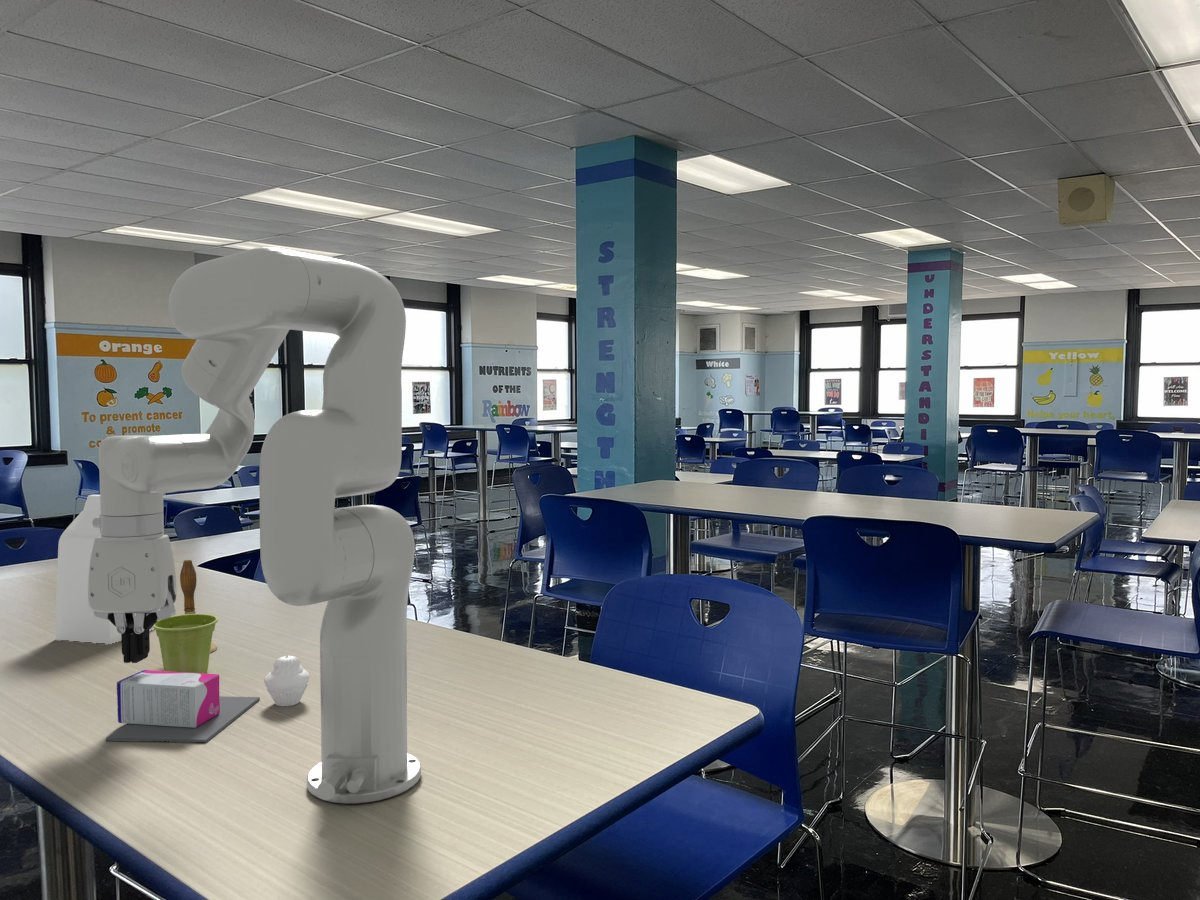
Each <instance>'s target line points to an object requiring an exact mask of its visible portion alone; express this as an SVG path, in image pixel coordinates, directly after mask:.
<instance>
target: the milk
mask: <svg viewBox="0 0 1200 900" xmlns="http://www.w3.org/2000/svg"><path fill="white" fill-rule="evenodd" d="M100 514H101V510H100V494H88V495H87V497H86V501H85V503H84V507H83V510H82V511H81V512H79V514H78V515H77V516H76V517H75V518H74V520H72V522H70V524H69V525H68V526H67V527H66V529H65V530H64V531H63V532H62V534H61V535H60V537H59V539H58V544H57V545H58V549H57V573H56V599H55V600H56V601H55V602H56V603H55V632H54V636H55V637H54V640H55V641H61V640H69V641H68V642H73V641H81V642H80V643H84V642H92V643H91V644H96V643H105V644H104V645H108V644H111V645H113V644H112V643H114V644H116V643H115V642H117V643H119V642H118V641H120V642H122V641H121V634H120V633H118V632H117V629H116V627H115V626H114V625H113V624H112V623H111V622H110V621H109V620H108V619H107V620H106V619H102V618H98V617H96V616H95V615H94V610H92V609H91V608H90V607H89V603H88V580H89V567H90V559H91V553H92V549H93V544H94V540H95V538H97V537H101V533H100V528H95V527H93V524H92V522H93V519H94V518H99V517H100ZM135 616H136V613H135ZM151 630H152V631H154V628H153V627H152V628H151V629H149V632H151Z"/></svg>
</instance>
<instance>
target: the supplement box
mask: <svg viewBox="0 0 1200 900" xmlns="http://www.w3.org/2000/svg"><path fill="white" fill-rule="evenodd" d="M219 696H220V674H217V673H206V674H204V673H186V672H169V671H164V670H152V669H151V670H150V669H144V670H141V671H139V672H136V673H134V674H132V675H130V676H127V677H125V678H122V679H120V680H117V681H116V697H117V698H116V700H117V702H116V703H117V704H116V705H117V722H118V723H119V724H125V725H127V724H141V725H157V726H173V727H188V728H196V727H198V726H199V725H201V724H203V723H204V722H206V721H208V720H209V719H211V718H213V717H215V716H216V715H218V714H220V700H219Z"/></svg>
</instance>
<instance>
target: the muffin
mask: <svg viewBox="0 0 1200 900" xmlns="http://www.w3.org/2000/svg"><path fill="white" fill-rule="evenodd" d="M309 681H310V674H309V672H308V671H307V670H306V669H305V668H304V667H303V666H302V665H301V661H300V659H299V658H298V657H297V656H295V655H288V654H287V655H283V656H281V657H278V658H277V659H276V660H274V663H273V667H272V668H271V670H270V672H269V673H267V675H266V676H265V678H264V685H265V687H266V688H267V689H266V691H267V693H268V694H269V695H270V697H271V698H272V700H273V702H274V704H275V705H276V706H278V707H283V708H284V707H285V706H286V707H292V706H295V705H297V704H299V703H300V702H301V700H302V697H303V695H304V694H305V691H306V690H307V687H308V685H309V684H308V683H309Z"/></svg>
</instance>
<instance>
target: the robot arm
mask: <svg viewBox="0 0 1200 900" xmlns="http://www.w3.org/2000/svg"><path fill="white" fill-rule="evenodd" d="M402 299H403V298H402V297H401V295H400V293H399V291H398V289H397V287H396V286H395V285H394V284H393V283H392V282H391V281H390V280H389V279H388V278H387V276H384V275H383V274H381V273H380V272H379V271H376V270H374V269H372V268H370V267H367V266H364V265H361V264H359V263H355V262H351V261H347V260H344V259H338V258H334V257H330V256H323V255H319V254H318V255H317V254H312V253H306V252H300V251H296V250H291V249H285V248H280V247H274V246H273V247H270V246H262V247H261V246H260V247H256V248H251V249H250V248H249V249H247V250H242V251H239V252H236V253H231V254H228V255H225V256H221V257H220V256H219V257H217V258H212V259H210V260H206V261H202V262H200V263H196V264H195V265H193V266H191V267H189V268H188V269H186V270H185V271H184V272H182V273H181V274H180V275H179V277H177V279H176V281H175V283H174V284H173V286H172V288H171V290H170V294H169V297H168V303H167V305H168V307H167V308H168V309H167V310H168V311H167V312H168V316H169V318H170V321H171V323H172V325H173V327H174V328H175V330H177V332H179V333H180V334H181V335H183V336H185V337H187V338H189V339H193V340H195V342H194V344H193V346H192V347H191V349H190V350H189V352H188V353H187V356H186V358H185V359H184V361H183V362H182V366H181V377H182V380H183V382H184V383H185V385H186V387H187V388H188V389H189V390H190V391H192V393H194V394H195V395H196V396H197V397H199V399H201V400H202V401H204V402H206V403H208V404H210V405H212V406H213V407H215V408H217V409H218V410H217V413H216V416H215V417H214V419H213V420H212V422H211V424H210V426H209V427H208V429H206V431H205V432H204V433H182V434H181V433H179V434H164V435H162V434H161V435H160V434H159V435H145V434H144V435H142V434H141V435H139V434H138V435H136V434H135V435H111V436H108V437H105V438H104V439H102V440H101V442H100V443H99V446H98V466H99V467H98V468H99V469H98V470H99V495H100V510H101V514H100V517H99V518H94V519H93V522H92V524H93V527H95V528H100V533H101V537H97V538H95V540H94V544H93V549H92V553H91V559H90V567H89V580H88V603H89V607H90V608H91V609H92V610H94V615H95V616H96V617H98V618H102V619H106V620H107V619H108V620H109V621H110V622H111V623H112V624H113V625H114V626H115V627H116V629H117V632H118V633H120V634H121V641H120V642H121V653H122V656H123V657H122V658H123V663H124V664H129V663H132V664H138V663H139V662H141V661H143V660H145V659H147V658H148V656H149V653H150V650H151V647H150V645H151V644H150V643H151V642H150V639H151V638H150V631H149V629H151V628H152V627H153V625H154V624H155V623H156V622H157V621H158V620H162V619H166V618H170V617H172V616H176V613H177V611H176V608H175V602H176V601H177V573H176V567H175V566H176V565H175V558H174V557H175V556H174V553H173V549H172V544H171V541H170V540H171V539H170V538H169V537H170V536H169V534H165V527H164V526H165V525H164V524H165V523H164V521H165V520H164V519H165V518H164V517H165V515H164V494H168V493H175V492H176V493H177V492H184V491H194V490H205V489H212V488H215V487H216V488H217V487H218V486H220V485H222V484H224V483H225V482H227V481H228V480H229V478H231V477H232V475H234V474H235V472H236V471H237V469H238V468H239V466H240V465H241V463H242V461H243V460H244V458H245V456H246V455H247V454H248V452H249V450H250V449H251V446H252V444H253V440H254V436H255V412H254V408H253V404H252V402H251V399H250V396H251V394H252V392H253V390H254V389H255V388H256V386H257V384H258V383H259V381H260V379H261V378H262V376H263V374H264V372H265V371H266V370H267V368H268V366H269V365H270V363H271V361H272V359H273V358H274V356H275V355H276V353H277V351H278V350H279V348H280V346H281V345H282V344H283V341H284V340H285V338H286V337H287V335H288V333H289V331H290V330H291V331H292V330H293V331H301V332H314V333H315V332H317V333H323V334H324V333H325V334H326V333H327V334H333V335H336V336H338V339H337V340H336V341H335V343H334V344H333V346H332V347H331V349H330V350H329V353H328V356H327V359H326V362H325V363H324V367H323V374H322V387H323V388H322V389H323V395H322V397H323V399H322V407H321V409H304V410H302V409H301V410H298V411H296V410H295V411H292V412H290V413H288V414H285V415H283V416H282V417H280V418H279V419H278V420H277V421H275V422H274V424H272V426H271V427H270V429H269V430H268V432H267V434H266V436H265V439H264V440H263V443H262V446H261V450H260V456H259V473H258V475H259V479H258V480H259V485H258V486H259V489H258V490H259V548H260V549H259V550H260V554H259V555H260V563H261V565H260V566H261V570H262V574H263V577H264V581H265V583H266V585H267V587H268V589H269V591H270V592H271V593H272V594H273V595H274V596H275V598H276V599H278V600H279V601H281V602H282V603H284V604H287V605H289V606H296V607H297V606H298V607H305V606H310V605H316V604H320V603H325V602H327V603H326V606H325V608H324V612H323V615H322V618H321V624H320V632H319V666H320V671H319V672H320V675H319V678H320V727H321V728H320V735H321V736H320V739H321V740H320V745H321V746H320V747H321V749H320V750H321V761H319V762H318V763H317V764H316V765H315V766H313V767H312V768H311V769H310V771H309V772H308V773H307V776H306V786H307V790H308V791H309V792H310V794H311V795H312V796H314V797H316V798H318V799H320V800H323V801H325V802H330V803H336V804H367V803H373V802H377V801H382V800H386V799H389V798H392V797H395V796H398V795H400V794H403V793H405V792H407V791H408V790H409V789H411V788H412V787H414V786H415V785H416V784H417V783H418V782H419V780H420V778H421V775H422V765H421V762H420V760H419V759H418V758H417V757H415V756H414V755H413V754H410V753H409V752H408V695H407V694H408V689H407V686H408V683H407V682H408V681H407V680H408V679H407V677H408V676H407V675H408V674H407V672H408V670H407V669H408V667H407V666H408V665H407V664H408V663H407V660H408V659H407V642H408V640H407V636H408V635H407V631H408V630H407V627H408V625H407V622H408V620H407V619H408V615H407V614H408V600H409V590H410V586H411V579H412V574H413V569H414V563H415V552H416V551H415V550H416V546H415V545H416V543H415V539H414V534H413V531H412V529H411V526H410V524H409V522H408V521H407V519H405V518H404V516H403V515H401V514H400V513H399V512H397V511H396V510H394V509H392V508H390V507H387V506H384V505H378V504H377V505H376V504H362V505H353V506H347V507H338V508H335V506H336V503H335V502H336V499H338V498H345V497H352V496H353V497H354V496H360V495H365V494H371V493H375V492H376V493H377V492H379V491H382V490H384V489H386V488H389V487H390V486H391V485H393V483H394V482H395V481H396V480H397V478H398V477H399V474H400V470H401V465H402V453H403V452H402V449H403V447H402V445H403V444H402V442H403V441H402V440H403V439H402V437H403V432H402V431H403V428H402V427H403V426H402V425H403V420H402V418H403V415H402V413H403V410H402V407H403V406H402V405H403V403H402V401H403V400H402V399H403V398H402V397H403V396H402V395H403V394H402V392H403V391H402V366H403V356H404V348H405V339H406V330H407V329H406V328H407V326H406V325H407V316H406V311H405V305H404V301H403V300H402ZM135 613H136V616H135Z"/></svg>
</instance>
